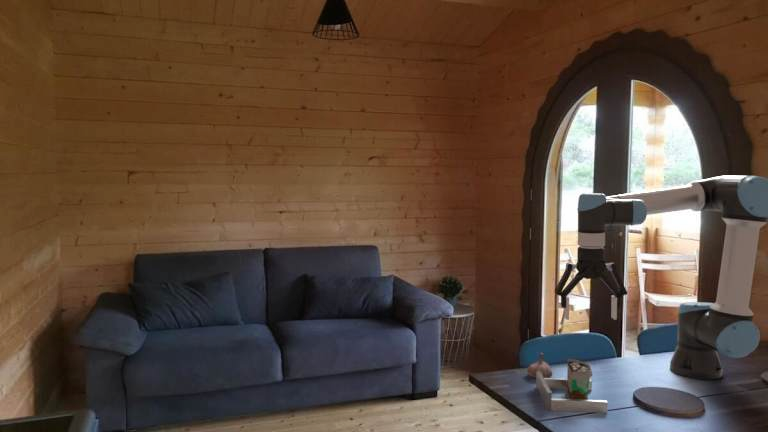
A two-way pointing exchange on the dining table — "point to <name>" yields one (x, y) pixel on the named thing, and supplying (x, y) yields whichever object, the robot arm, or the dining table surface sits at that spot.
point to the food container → (578, 379)
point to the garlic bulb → (540, 368)
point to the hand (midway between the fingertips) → (590, 318)
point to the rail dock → (565, 404)
